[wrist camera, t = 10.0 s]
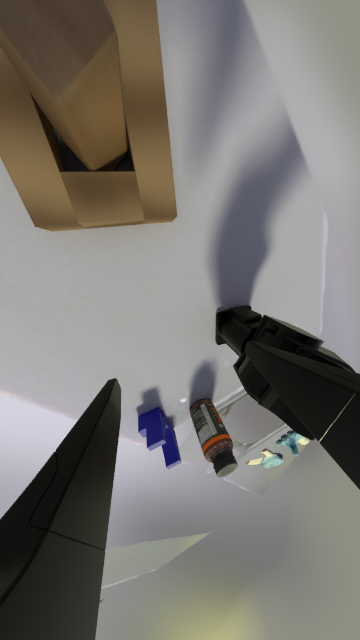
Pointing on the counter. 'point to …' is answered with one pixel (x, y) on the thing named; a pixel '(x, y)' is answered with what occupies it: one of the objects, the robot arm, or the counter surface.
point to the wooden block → (71, 73)
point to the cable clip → (159, 435)
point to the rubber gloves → (287, 441)
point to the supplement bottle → (213, 437)
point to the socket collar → (141, 129)
